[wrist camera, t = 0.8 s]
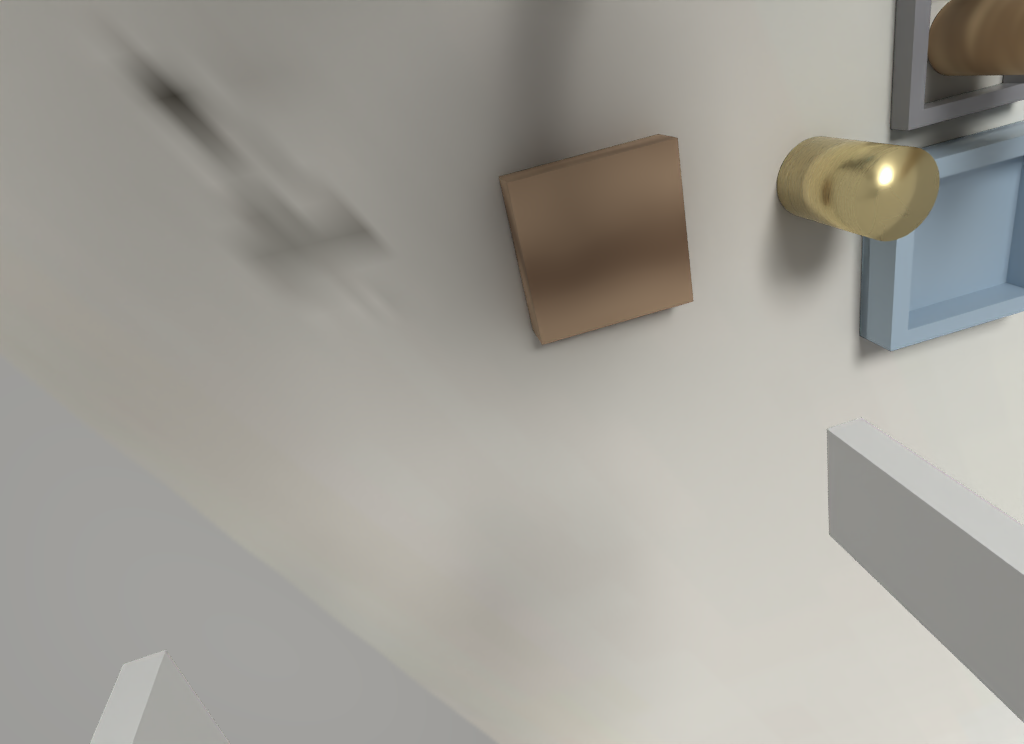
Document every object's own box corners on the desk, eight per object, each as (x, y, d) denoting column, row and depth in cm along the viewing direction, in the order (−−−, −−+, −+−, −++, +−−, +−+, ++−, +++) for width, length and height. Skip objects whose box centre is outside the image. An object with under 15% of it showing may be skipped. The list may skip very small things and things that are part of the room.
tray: (864, 163, 34) (900, 168, 31) (1033, 117, 35) (1080, 120, 32) (859, 335, 38) (890, 351, 36) (1009, 290, 39) (1048, 303, 37)
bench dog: (775, 147, 32) (857, 159, 27) (848, 128, 33) (943, 136, 27) (778, 224, 34) (855, 251, 29) (847, 205, 34) (935, 228, 29)
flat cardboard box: (497, 175, 30) (507, 182, 28) (655, 133, 31) (677, 138, 29) (531, 327, 34) (542, 344, 32) (672, 286, 35) (693, 301, 32)
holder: (898, -32, 30) (918, -37, 29) (1034, -65, 31) (1058, -70, 30) (890, 128, 33) (908, 130, 32) (1014, 95, 34) (1035, 96, 33)
